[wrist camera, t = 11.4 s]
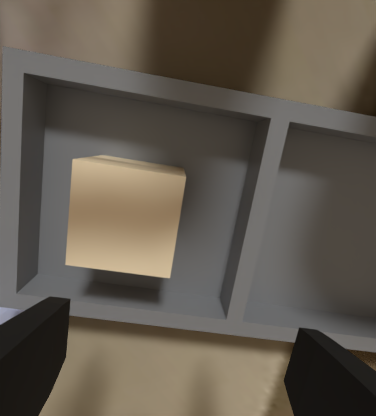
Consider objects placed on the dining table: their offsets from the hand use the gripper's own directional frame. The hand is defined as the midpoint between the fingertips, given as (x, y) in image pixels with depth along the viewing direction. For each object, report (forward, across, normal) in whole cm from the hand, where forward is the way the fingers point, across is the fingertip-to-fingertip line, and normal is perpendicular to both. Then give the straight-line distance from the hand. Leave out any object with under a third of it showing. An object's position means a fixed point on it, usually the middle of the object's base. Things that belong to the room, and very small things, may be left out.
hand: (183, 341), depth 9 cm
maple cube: (+10, +3, -2) cm, 11 cm away
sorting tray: (+10, -4, -2) cm, 11 cm away
